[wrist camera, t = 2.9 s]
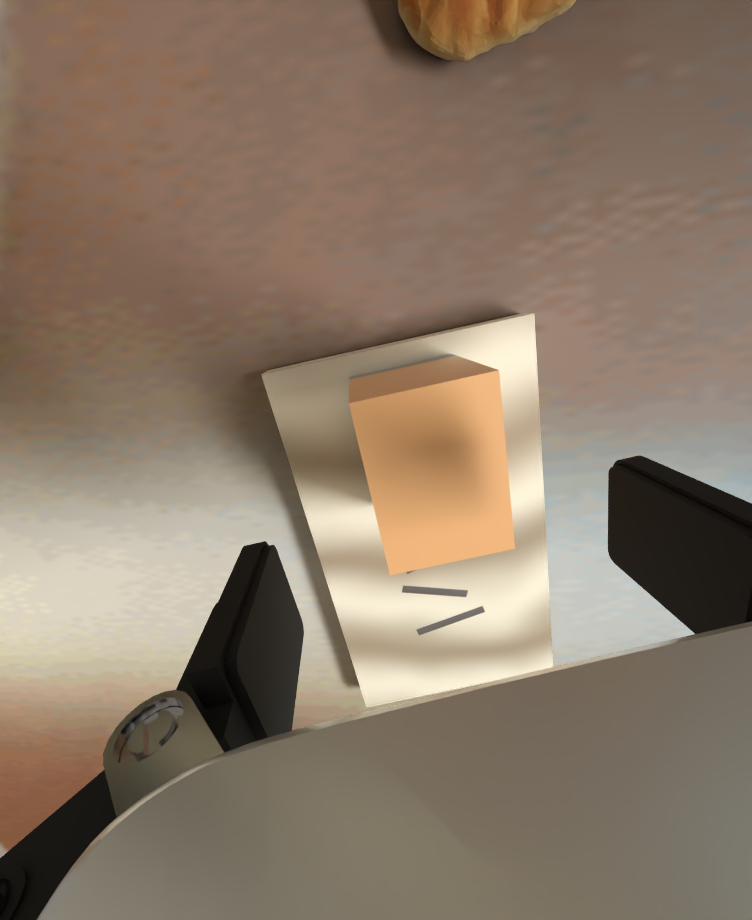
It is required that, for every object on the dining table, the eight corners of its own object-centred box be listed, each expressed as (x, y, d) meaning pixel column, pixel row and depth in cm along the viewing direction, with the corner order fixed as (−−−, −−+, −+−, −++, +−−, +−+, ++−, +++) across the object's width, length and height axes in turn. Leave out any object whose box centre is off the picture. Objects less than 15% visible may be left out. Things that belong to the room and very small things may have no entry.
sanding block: (349, 377, 18) (348, 403, 12) (452, 353, 18) (498, 370, 12) (379, 504, 20) (389, 575, 15) (469, 485, 20) (514, 548, 15)
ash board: (267, 370, 19) (261, 374, 18) (520, 313, 19) (534, 313, 17) (365, 687, 27) (366, 707, 26) (542, 650, 27) (553, 668, 26)
